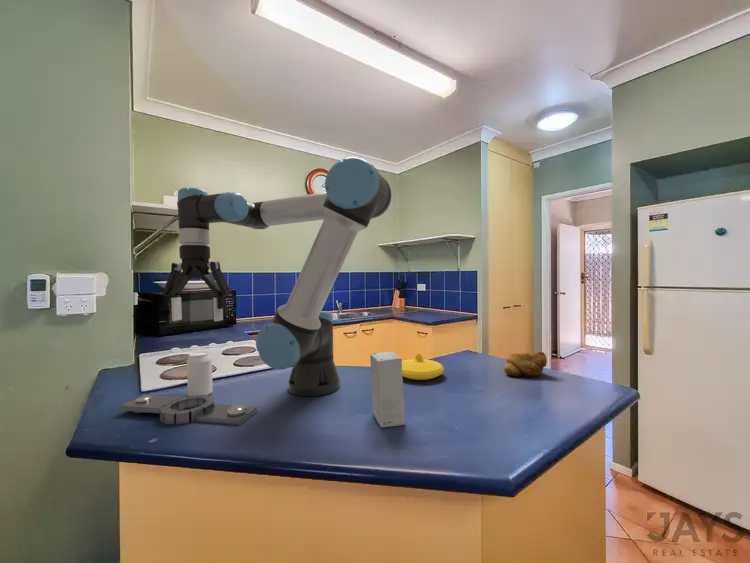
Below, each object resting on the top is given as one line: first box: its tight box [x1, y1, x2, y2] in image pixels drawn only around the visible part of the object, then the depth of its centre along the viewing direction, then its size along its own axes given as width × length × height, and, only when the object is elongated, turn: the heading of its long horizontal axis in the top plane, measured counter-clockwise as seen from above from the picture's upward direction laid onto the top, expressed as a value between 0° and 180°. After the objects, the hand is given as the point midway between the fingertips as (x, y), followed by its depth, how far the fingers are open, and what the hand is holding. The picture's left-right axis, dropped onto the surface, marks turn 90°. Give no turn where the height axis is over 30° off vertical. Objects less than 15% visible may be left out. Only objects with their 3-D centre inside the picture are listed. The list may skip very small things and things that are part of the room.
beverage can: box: [186, 351, 214, 397], centre depth 92 cm, size 6×6×12 cm
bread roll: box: [503, 351, 548, 378], centre depth 104 cm, size 13×10×8 cm
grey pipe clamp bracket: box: [119, 394, 258, 426], centre depth 80 cm, size 33×12×3 cm, turn 78°
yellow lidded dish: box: [402, 353, 445, 381], centre depth 105 cm, size 16×16×7 cm
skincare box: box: [369, 351, 406, 428], centre depth 74 cm, size 8×6×15 cm
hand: (197, 320), depth 91 cm, fingers open, 13 cm apart
